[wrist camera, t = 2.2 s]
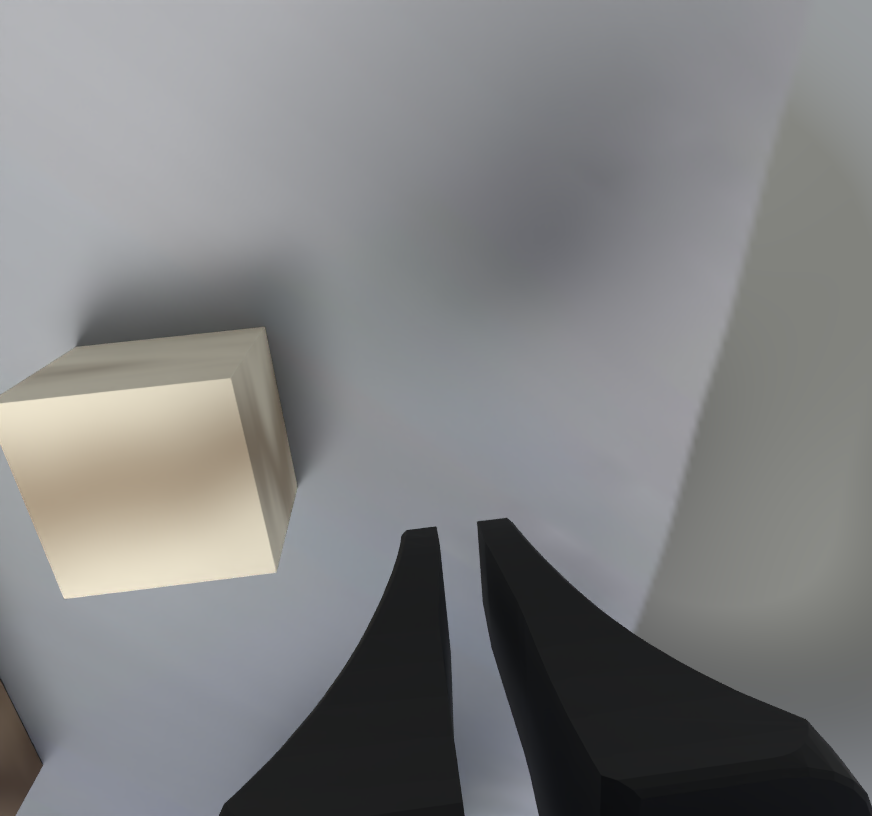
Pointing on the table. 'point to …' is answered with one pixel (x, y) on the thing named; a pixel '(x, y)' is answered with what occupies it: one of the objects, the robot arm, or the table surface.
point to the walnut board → (14, 758)
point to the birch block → (153, 461)
